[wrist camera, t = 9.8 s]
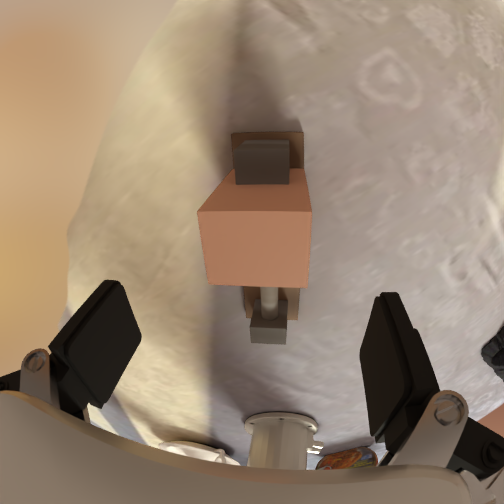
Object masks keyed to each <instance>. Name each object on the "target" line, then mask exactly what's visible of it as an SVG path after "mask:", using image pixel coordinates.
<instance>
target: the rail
mask: <svg viewBox="0 0 504 504" xmlns="http://www.w3.org/2000/svg"><path fill="white" fill-rule="evenodd" d="M231 138H232V152H233V166H234V169H235V181H236V185H255V184H285V185H289V173H290V168H299V169H304V133H303V132H249V133H233V134H231ZM243 287H244V299H245V310H246V318H251V323H250V336H251V343H264V344H286V332H287V320H298V308H299V293H300V288H287V287H257V286H243Z"/></svg>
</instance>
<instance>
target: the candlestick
mask: <svg viewBox="0 0 504 504" xmlns="http://www.w3.org/2000/svg"><path fill="white" fill-rule="evenodd" d="M159 447H160V448H161V449H162V450H165V451H168V452H172V453H176V454H180V455H184V456H188V457H193V458H198V459H203V460H208V461H213V462H219V463H225V464H232V465H239V466H240V464H239V463H238V462H237V461H235V460H233V459H232V458H231V457H230V456H229V455H227V454H225V451H224V450H223V449H215V448H212V447H209V446H206V445H202V444H198V443H193V442H187V441H172V442H163V443H160V444H159Z"/></svg>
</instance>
